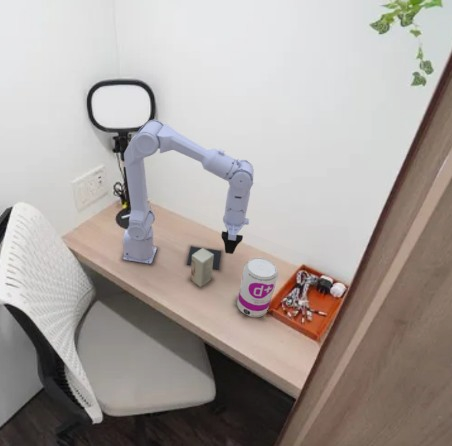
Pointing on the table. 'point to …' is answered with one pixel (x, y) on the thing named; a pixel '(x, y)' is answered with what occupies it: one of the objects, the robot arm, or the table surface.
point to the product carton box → (201, 267)
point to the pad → (216, 252)
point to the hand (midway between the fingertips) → (230, 244)
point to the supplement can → (257, 287)
